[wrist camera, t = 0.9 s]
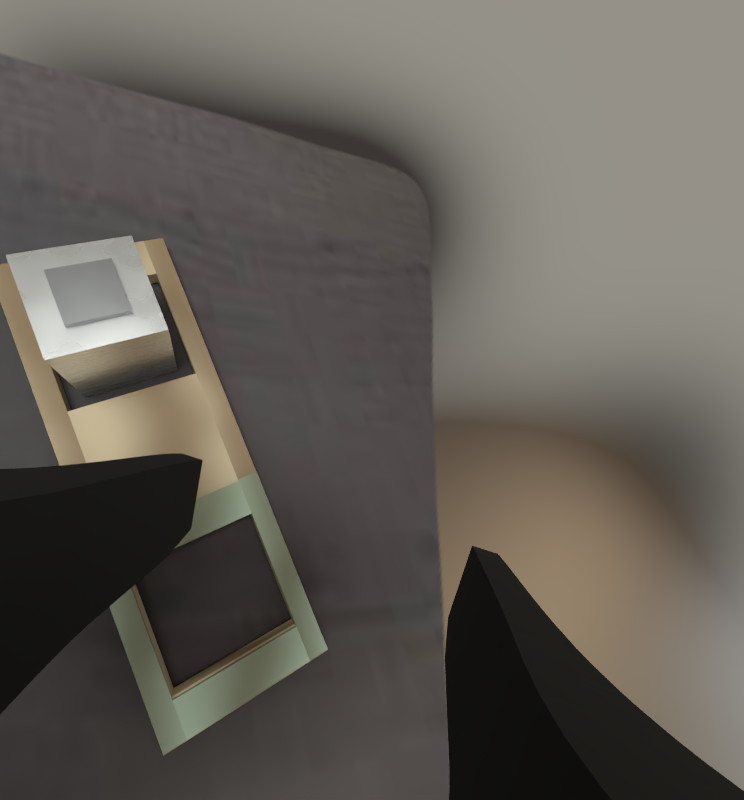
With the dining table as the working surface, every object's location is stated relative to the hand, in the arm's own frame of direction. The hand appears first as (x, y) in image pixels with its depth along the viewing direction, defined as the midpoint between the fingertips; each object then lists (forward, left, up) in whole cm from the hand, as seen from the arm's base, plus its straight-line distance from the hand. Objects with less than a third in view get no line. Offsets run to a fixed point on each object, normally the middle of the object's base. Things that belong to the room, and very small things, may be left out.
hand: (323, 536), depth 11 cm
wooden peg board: (-3, +5, -14) cm, 15 cm away
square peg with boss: (-3, +12, -14) cm, 18 cm away
